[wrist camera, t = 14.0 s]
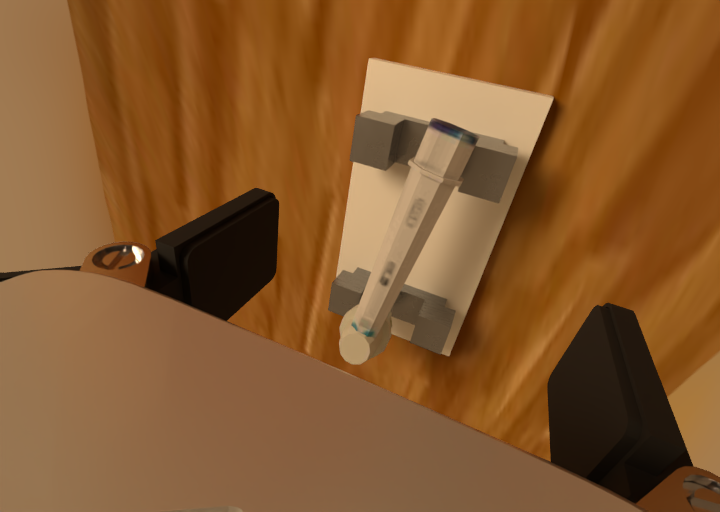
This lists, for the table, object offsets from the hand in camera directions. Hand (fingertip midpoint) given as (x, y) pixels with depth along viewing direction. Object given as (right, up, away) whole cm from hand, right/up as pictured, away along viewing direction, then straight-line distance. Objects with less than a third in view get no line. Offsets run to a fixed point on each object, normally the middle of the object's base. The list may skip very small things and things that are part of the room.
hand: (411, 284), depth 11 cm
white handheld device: (+3, +2, +26) cm, 26 cm away
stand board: (+5, +4, +30) cm, 31 cm away
